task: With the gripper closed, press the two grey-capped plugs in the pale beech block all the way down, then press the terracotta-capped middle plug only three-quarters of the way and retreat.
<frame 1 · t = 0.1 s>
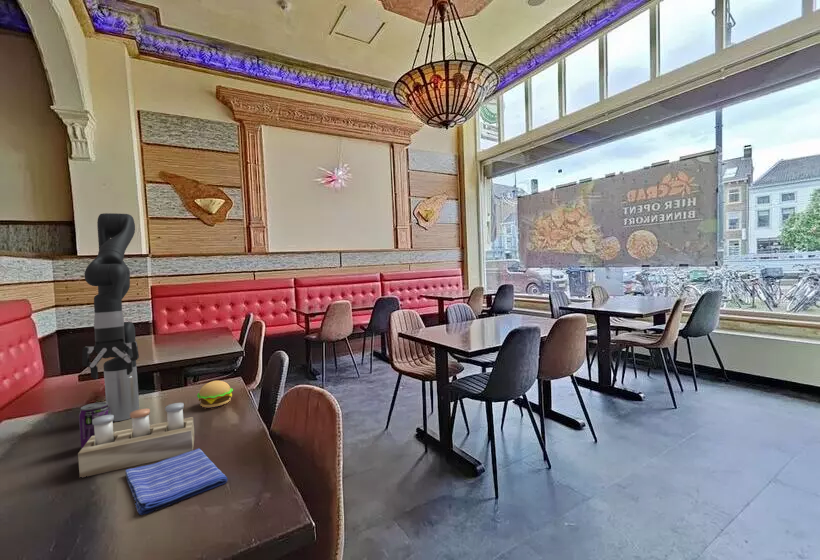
hand: (112, 376, 125), 17 cm above the table, tool pointing down, fingers open, 8 cm apart
hamburger: (215, 405, 146), on the table
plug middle: (140, 425, 105), point 8 cm above the table, slide at 0.0 cm
beech block: (143, 455, 105), on the table
dish towel: (175, 482, 92), on the table
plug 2: (175, 418, 109), point 8 cm above the table, slide at 0.0 cm
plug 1: (104, 432, 101), point 8 cm above the table, slide at 0.0 cm
beverage can: (97, 447, 113), on the table
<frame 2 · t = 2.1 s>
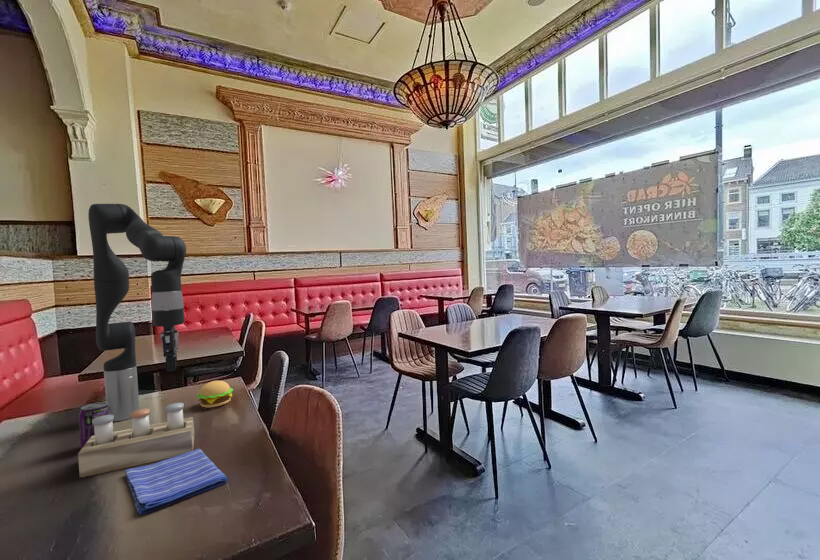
hand: (172, 368, 108), 22 cm above the table, tool pointing down, fingers open, 4 cm apart
nothing on the table moved.
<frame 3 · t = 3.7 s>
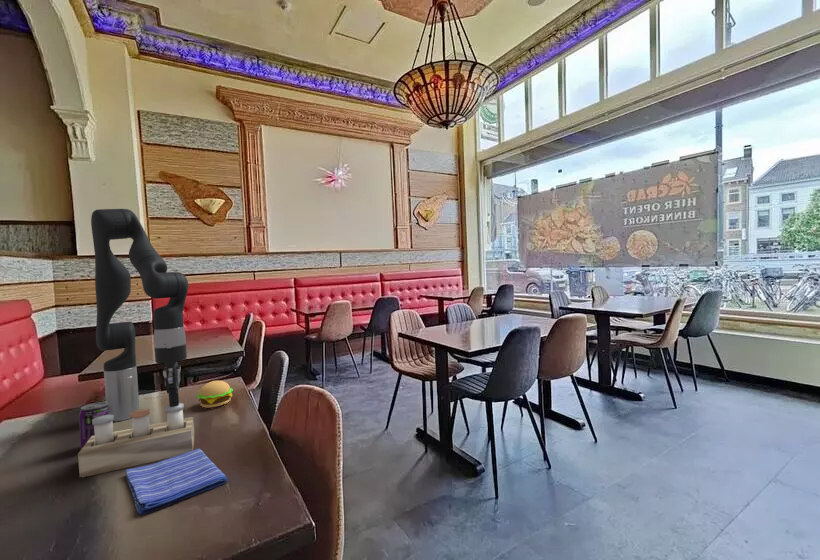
hand: (174, 405, 109), 12 cm above the table, tool pointing down, fingers closed
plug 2: (175, 419, 109), point 8 cm above the table, slide at 0.1 cm, touching gripper
everything else where it was.
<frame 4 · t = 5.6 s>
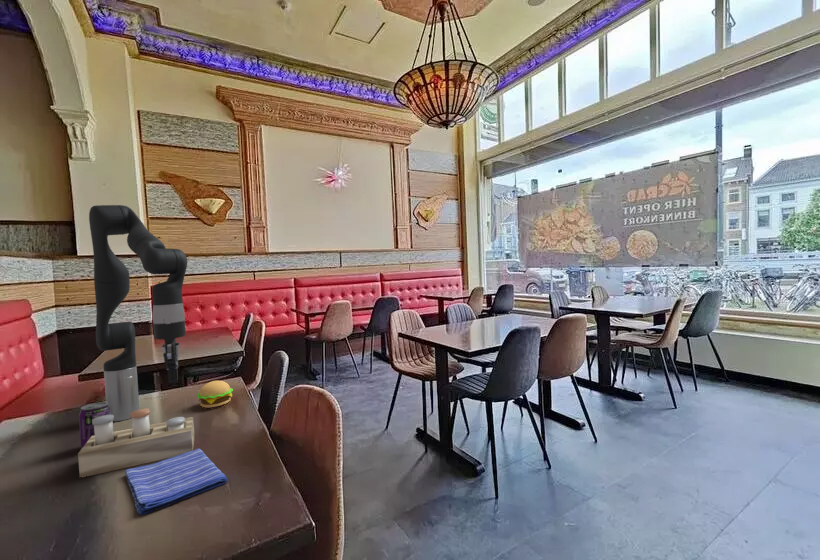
hand: (173, 382, 109), 19 cm above the table, tool pointing down, fingers closed
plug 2: (176, 433, 109), point 4 cm above the table, slide at 4.0 cm
everything else where it was.
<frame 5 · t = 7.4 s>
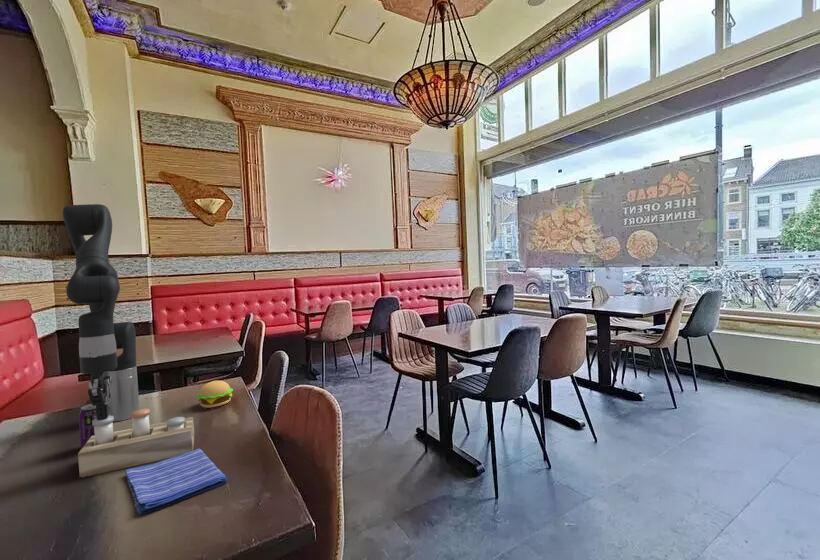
hand: (102, 418, 101), 12 cm above the table, tool pointing down, fingers closed
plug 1: (104, 433, 101), point 8 cm above the table, slide at 0.3 cm, touching gripper
everything else where it was.
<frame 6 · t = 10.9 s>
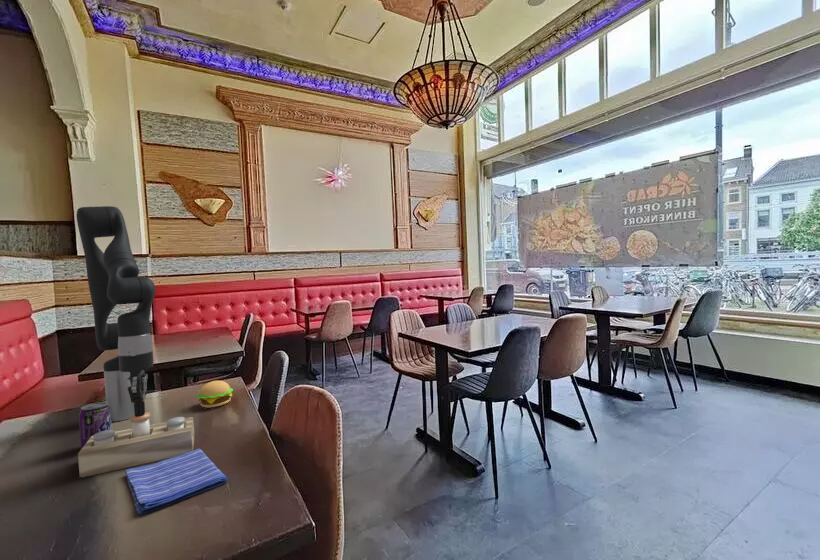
hand: (140, 415, 105), 11 cm above the table, tool pointing down, fingers closed
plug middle: (141, 429, 105), point 7 cm above the table, slide at 1.1 cm, touching gripper
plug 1: (105, 447, 102), point 4 cm above the table, slide at 4.1 cm
everything else where it was.
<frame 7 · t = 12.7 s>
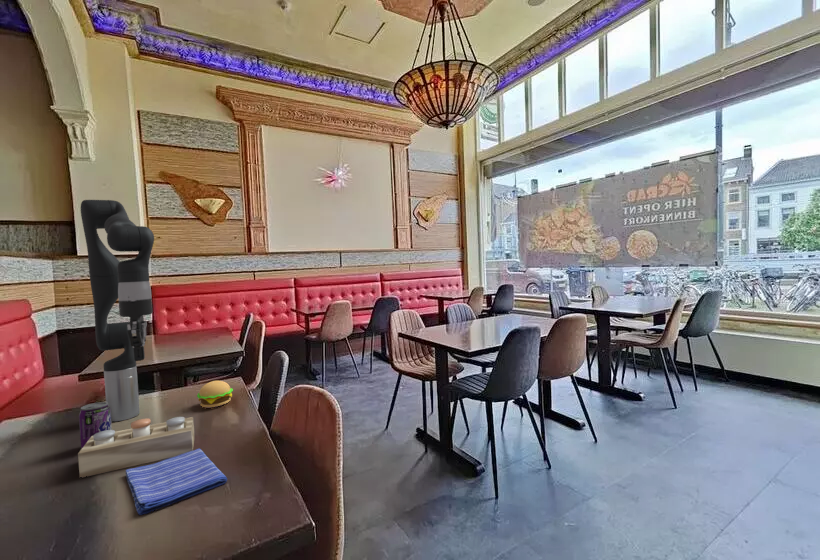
hand: (139, 360, 108), 25 cm above the table, tool pointing down, fingers closed
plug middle: (141, 435, 105), point 5 cm above the table, slide at 2.8 cm
everything else where it was.
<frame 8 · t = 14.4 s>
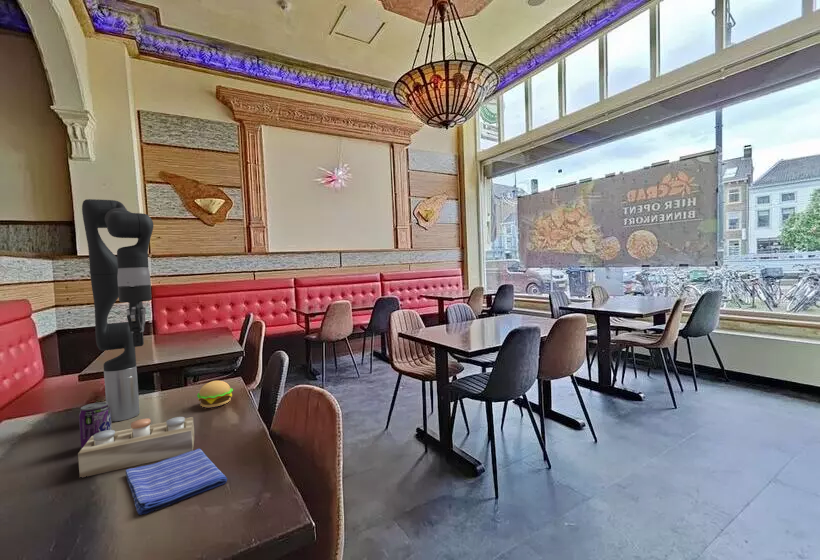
hand: (138, 346, 109), 29 cm above the table, tool pointing down, fingers closed
nothing on the table moved.
at the end: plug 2 slide at 4.0 cm; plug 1 slide at 4.1 cm; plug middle slide at 2.8 cm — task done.
